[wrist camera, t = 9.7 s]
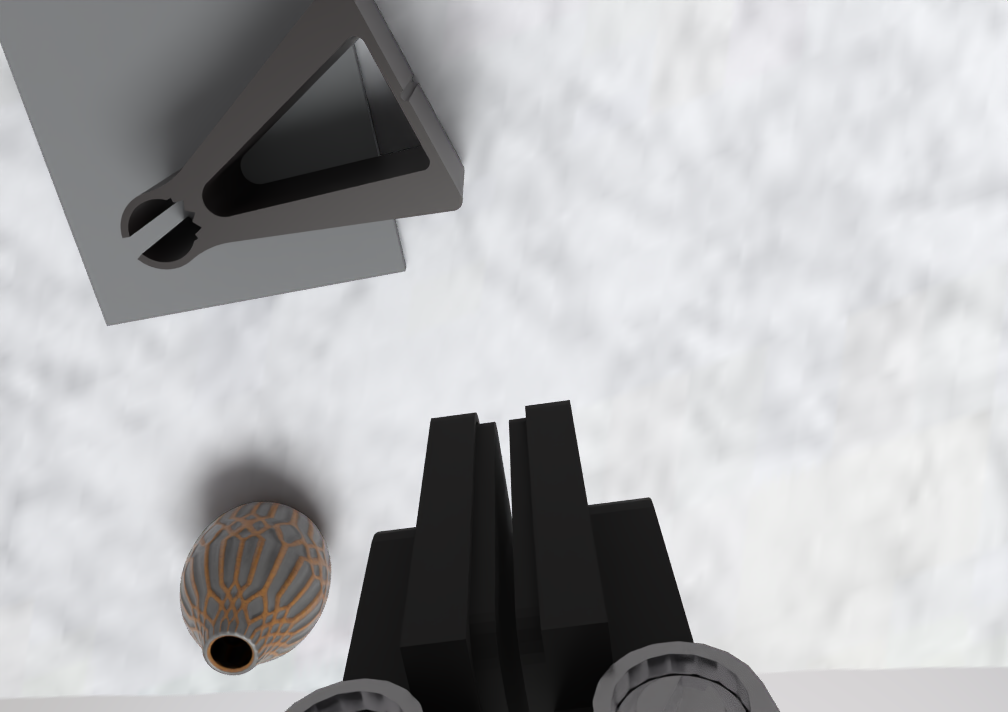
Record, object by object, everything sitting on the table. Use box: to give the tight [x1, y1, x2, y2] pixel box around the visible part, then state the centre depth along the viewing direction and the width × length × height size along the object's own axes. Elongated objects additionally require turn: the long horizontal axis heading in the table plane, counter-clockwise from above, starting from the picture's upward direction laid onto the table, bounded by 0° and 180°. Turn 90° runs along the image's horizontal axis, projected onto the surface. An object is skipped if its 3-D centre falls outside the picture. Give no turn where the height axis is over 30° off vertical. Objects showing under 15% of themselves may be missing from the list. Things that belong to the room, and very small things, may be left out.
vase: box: [180, 502, 331, 675], centre depth 43 cm, size 7×7×9 cm
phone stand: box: [120, 0, 464, 270], centre depth 36 cm, size 9×6×12 cm
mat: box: [0, 0, 406, 326], centre depth 38 cm, size 14×18×1 cm
